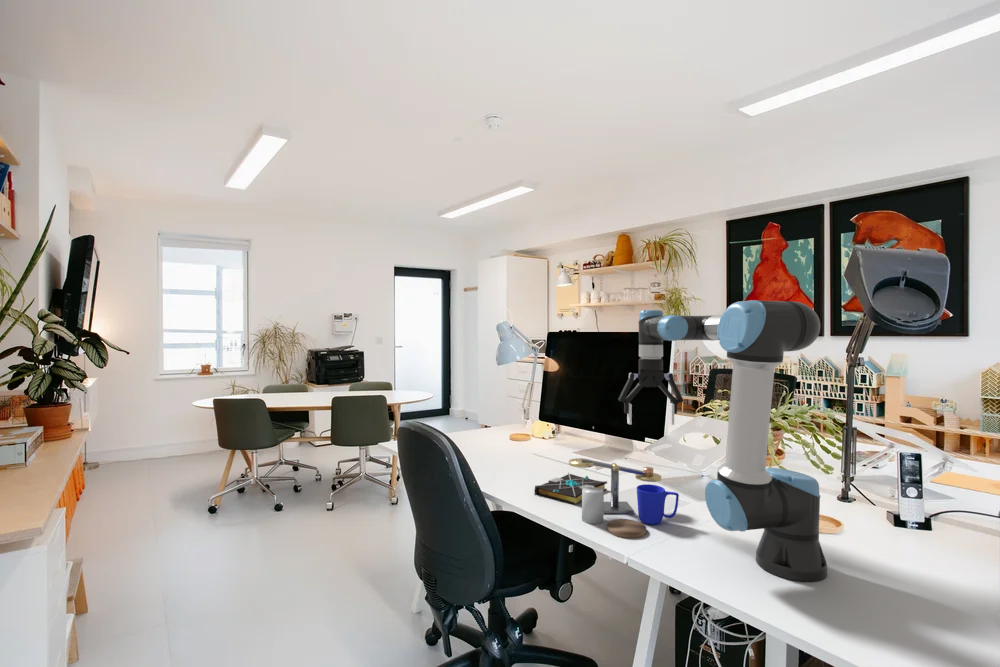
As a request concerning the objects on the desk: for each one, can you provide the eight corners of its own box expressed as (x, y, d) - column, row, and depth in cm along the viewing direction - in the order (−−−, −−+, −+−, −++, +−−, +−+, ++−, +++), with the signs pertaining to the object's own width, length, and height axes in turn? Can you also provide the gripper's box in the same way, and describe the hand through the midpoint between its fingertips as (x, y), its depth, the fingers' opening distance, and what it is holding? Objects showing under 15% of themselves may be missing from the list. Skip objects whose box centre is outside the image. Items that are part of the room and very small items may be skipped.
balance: (664, 513, 161) (665, 461, 160) (570, 514, 160) (571, 462, 160) (656, 504, 169) (656, 455, 168) (566, 505, 168) (566, 455, 167)
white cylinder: (605, 524, 152) (605, 493, 152) (584, 524, 152) (584, 494, 152) (600, 516, 158) (601, 487, 158) (580, 516, 158) (580, 487, 158)
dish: (651, 538, 142) (651, 533, 142) (611, 538, 142) (612, 534, 142) (639, 522, 153) (639, 518, 153) (602, 523, 153) (602, 519, 152)
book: (568, 481, 195) (568, 468, 195) (607, 491, 184) (608, 477, 184) (533, 495, 178) (533, 481, 178) (575, 507, 167) (575, 491, 167)
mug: (680, 529, 148) (680, 494, 148) (637, 525, 151) (637, 491, 151) (676, 518, 156) (676, 486, 156) (635, 515, 159) (635, 483, 159)
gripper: (685, 357, 169) (685, 421, 169) (609, 357, 169) (609, 421, 169) (693, 358, 161) (693, 426, 162) (614, 358, 162) (614, 425, 162)
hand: (650, 424), depth 165 cm, fingers open, 13 cm apart
